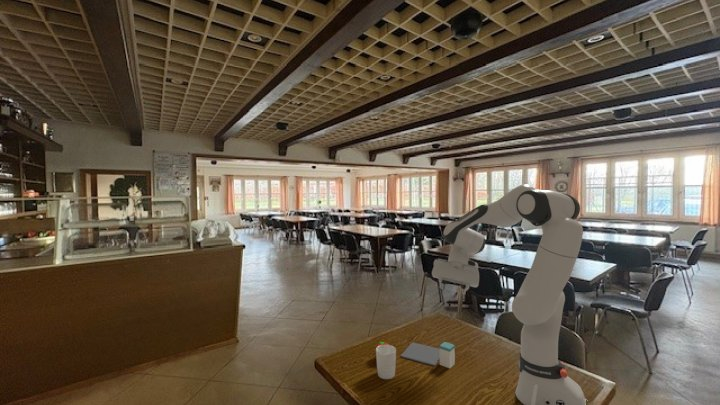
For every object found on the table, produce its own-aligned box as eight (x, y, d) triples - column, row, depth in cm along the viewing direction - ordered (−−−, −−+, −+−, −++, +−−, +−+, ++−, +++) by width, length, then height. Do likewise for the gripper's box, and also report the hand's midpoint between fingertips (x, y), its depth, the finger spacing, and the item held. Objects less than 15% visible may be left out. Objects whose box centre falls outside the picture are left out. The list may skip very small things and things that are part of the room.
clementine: (371, 357, 136) (371, 341, 136) (383, 352, 140) (383, 336, 140) (383, 365, 130) (383, 348, 130) (395, 360, 134) (395, 343, 134)
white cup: (372, 371, 125) (372, 347, 125) (389, 367, 129) (389, 343, 128) (382, 382, 118) (382, 356, 118) (400, 377, 121) (400, 351, 121)
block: (454, 363, 131) (454, 344, 130) (449, 368, 127) (449, 349, 127) (444, 360, 134) (444, 341, 133) (439, 364, 130) (439, 345, 130)
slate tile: (443, 351, 141) (443, 349, 141) (434, 366, 129) (434, 364, 129) (412, 343, 148) (412, 342, 148) (400, 356, 136) (400, 355, 136)
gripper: (434, 254, 145) (428, 282, 138) (481, 264, 137) (477, 294, 130) (435, 260, 150) (428, 287, 143) (480, 270, 142) (476, 299, 135)
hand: (452, 290), depth 136 cm, fingers open, 8 cm apart
